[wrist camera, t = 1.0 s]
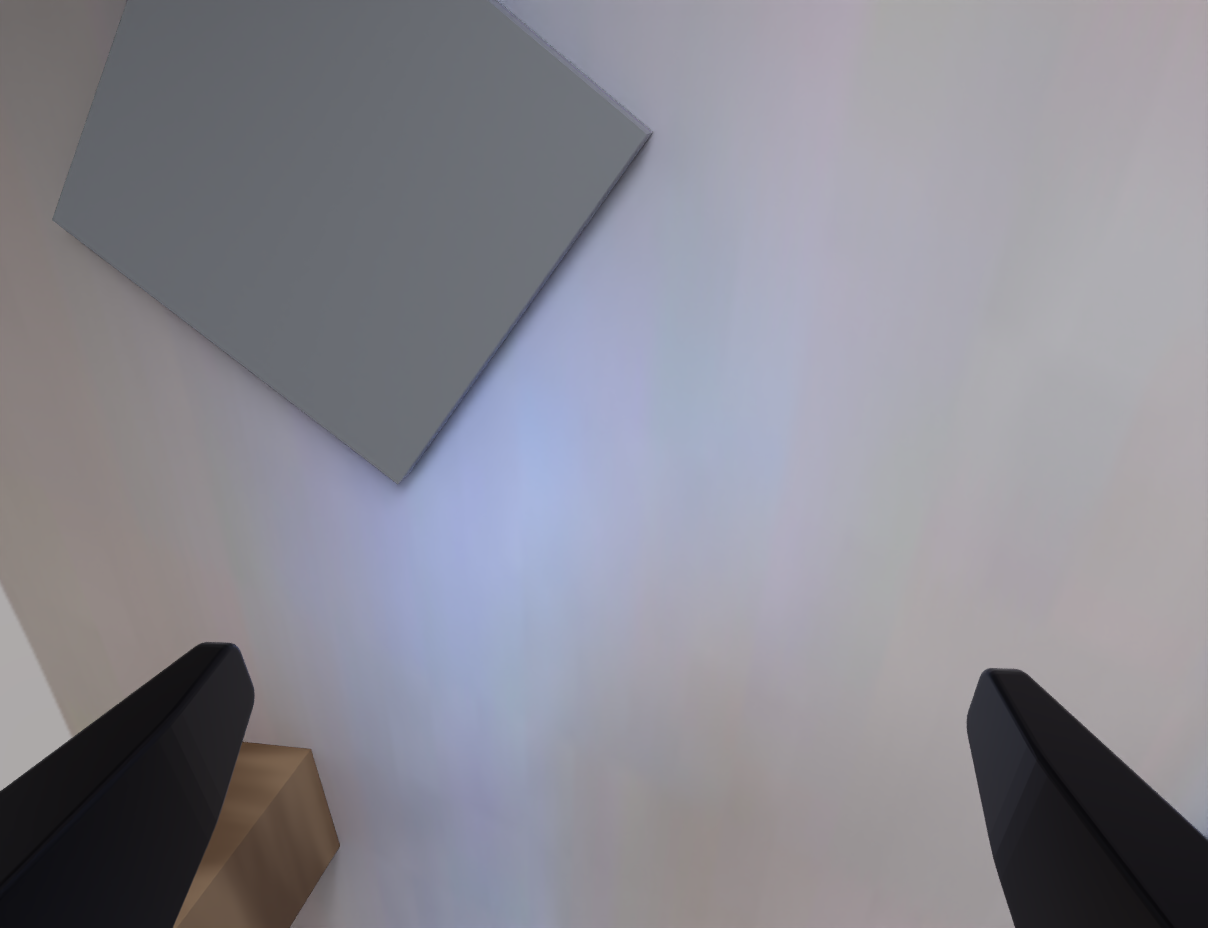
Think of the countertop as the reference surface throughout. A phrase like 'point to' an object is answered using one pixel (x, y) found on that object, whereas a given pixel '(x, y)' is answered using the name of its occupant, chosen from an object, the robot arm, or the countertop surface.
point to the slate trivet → (344, 192)
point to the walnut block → (263, 843)
